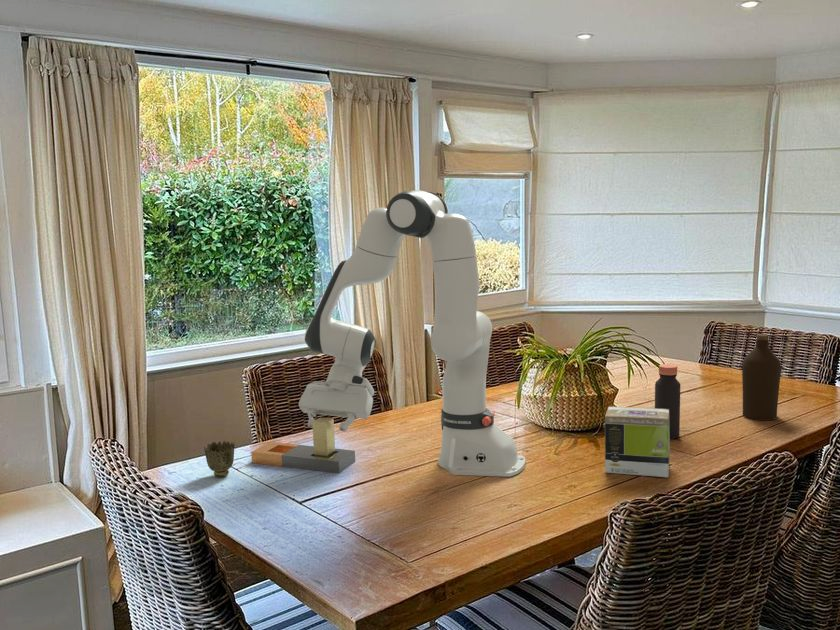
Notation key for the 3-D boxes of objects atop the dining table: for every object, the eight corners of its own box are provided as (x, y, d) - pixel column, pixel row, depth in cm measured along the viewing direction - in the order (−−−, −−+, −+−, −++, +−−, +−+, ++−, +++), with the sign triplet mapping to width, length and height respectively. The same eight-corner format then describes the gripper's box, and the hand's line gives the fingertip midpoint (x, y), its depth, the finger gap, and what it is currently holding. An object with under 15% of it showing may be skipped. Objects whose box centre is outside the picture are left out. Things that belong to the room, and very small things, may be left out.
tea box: (669, 465, 190) (670, 407, 188) (668, 479, 180) (669, 419, 178) (607, 460, 195) (608, 404, 192) (603, 473, 185) (604, 415, 183)
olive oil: (755, 422, 222) (758, 338, 219) (733, 413, 233) (735, 333, 229) (786, 419, 225) (790, 336, 221) (763, 410, 235) (766, 330, 231)
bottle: (667, 430, 218) (668, 362, 215) (684, 436, 212) (686, 366, 209) (648, 434, 215) (650, 365, 212) (666, 440, 209) (667, 369, 206)
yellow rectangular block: (335, 463, 198) (333, 418, 197) (328, 468, 195) (326, 422, 193) (322, 461, 200) (319, 417, 198) (314, 466, 196) (312, 421, 194)
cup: (228, 481, 187) (226, 450, 186) (200, 480, 189) (198, 449, 187) (241, 471, 194) (239, 441, 193) (214, 469, 196) (212, 440, 195)
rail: (355, 461, 199) (354, 450, 199) (339, 473, 191) (338, 461, 190) (270, 452, 209) (270, 441, 208) (251, 462, 200) (251, 452, 200)
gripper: (304, 374, 207) (287, 419, 199) (372, 379, 199) (356, 426, 192) (313, 386, 212) (296, 430, 204) (380, 392, 204) (365, 437, 197)
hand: (326, 428), depth 198 cm, fingers open, 8 cm apart
